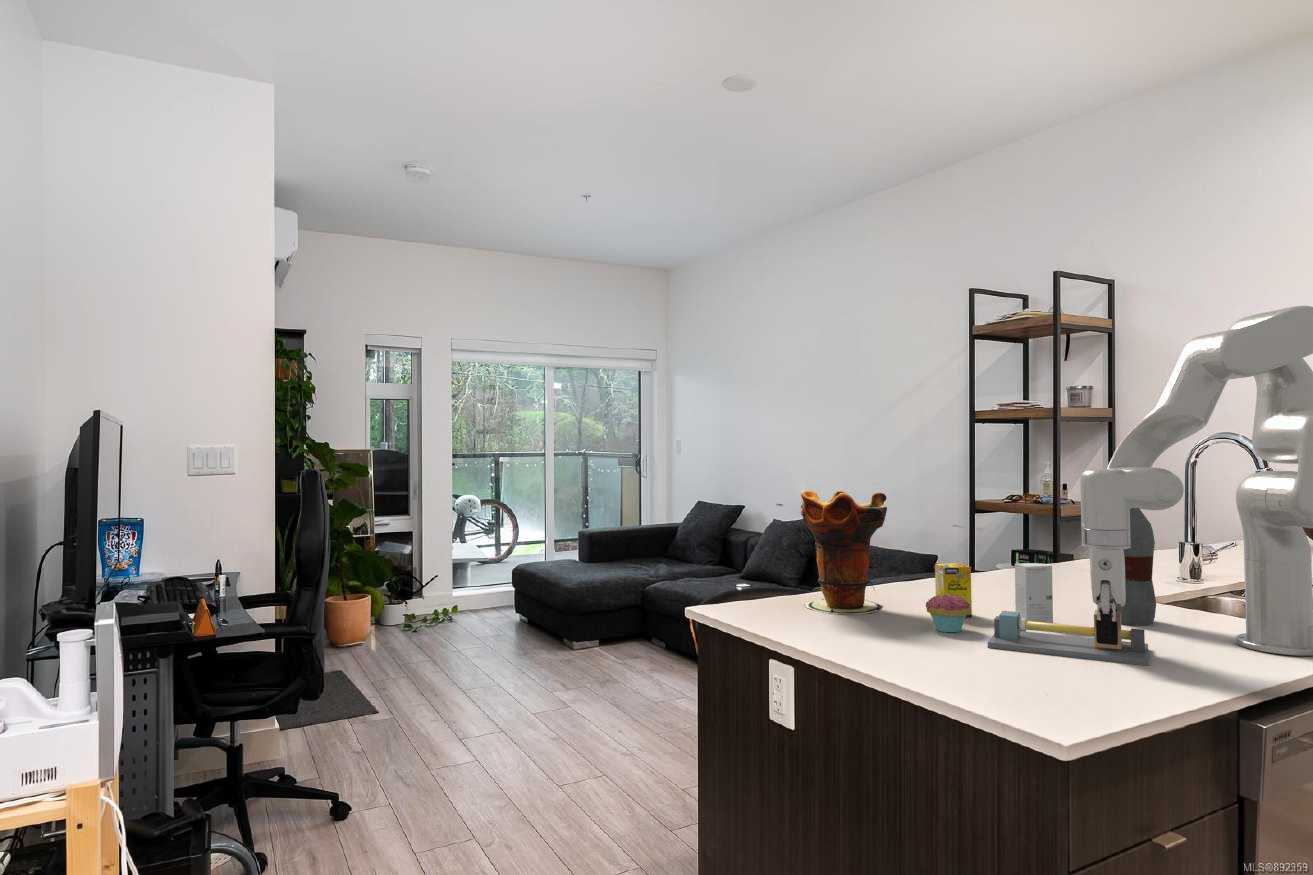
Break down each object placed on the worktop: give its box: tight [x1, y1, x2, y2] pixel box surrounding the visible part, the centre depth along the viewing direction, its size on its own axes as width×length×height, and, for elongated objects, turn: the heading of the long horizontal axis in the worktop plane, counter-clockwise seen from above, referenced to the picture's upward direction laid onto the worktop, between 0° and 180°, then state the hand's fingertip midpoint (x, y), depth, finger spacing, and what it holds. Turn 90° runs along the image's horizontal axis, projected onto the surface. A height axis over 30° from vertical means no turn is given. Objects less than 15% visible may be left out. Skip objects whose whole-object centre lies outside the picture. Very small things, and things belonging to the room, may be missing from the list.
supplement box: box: [934, 562, 973, 618], centre depth 172 cm, size 6×6×11 cm
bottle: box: [1117, 508, 1157, 627], centre depth 163 cm, size 9×9×30 cm
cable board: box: [987, 610, 1150, 667], centre depth 142 cm, size 25×12×5 cm, turn 58°
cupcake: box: [925, 570, 971, 633], centre depth 158 cm, size 9×8×12 cm
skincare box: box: [1014, 562, 1054, 623], centre depth 163 cm, size 6×4×12 cm
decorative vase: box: [800, 490, 888, 615], centre depth 183 cm, size 21×23×28 cm
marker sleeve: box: [1093, 609, 1123, 649], centre depth 139 cm, size 4×5×6 cm
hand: (1108, 638), depth 139 cm, fingers open, 7 cm apart
